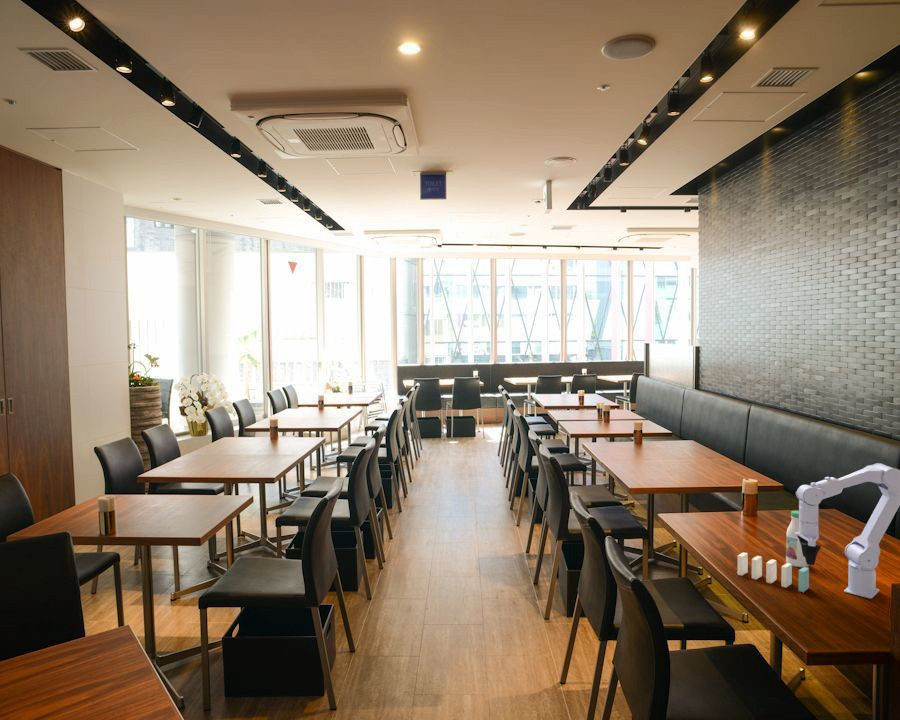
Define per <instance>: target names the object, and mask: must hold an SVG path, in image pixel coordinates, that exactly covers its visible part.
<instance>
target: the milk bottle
mask: <svg viewBox="0 0 900 720" xmlns="http://www.w3.org/2000/svg"><path fill="white" fill-rule="evenodd" d="M790 517H791V521H790V523H789V525H788V526H787V530H786V536H785V537H786V539H785V562H786V563H790V564H792V567H795V568H796V567H798V568H803V567H806V568H809V566H810V565H807V563H806V559H805V557H803V553H802V548H801V544H800V541H799V538H798V537H797V535H795V532H799V510H792V511H790Z"/></svg>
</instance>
